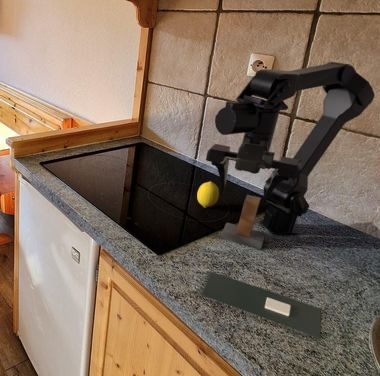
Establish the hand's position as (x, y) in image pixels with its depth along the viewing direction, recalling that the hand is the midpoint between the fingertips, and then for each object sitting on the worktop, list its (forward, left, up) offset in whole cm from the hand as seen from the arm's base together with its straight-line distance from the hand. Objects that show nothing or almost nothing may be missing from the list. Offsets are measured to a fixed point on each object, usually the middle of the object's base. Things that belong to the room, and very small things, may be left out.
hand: (243, 194), depth 95 cm
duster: (-2, +1, -12) cm, 12 cm away
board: (+7, +24, -12) cm, 27 cm away
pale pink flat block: (+5, +26, -11) cm, 28 cm away
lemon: (0, -16, -12) cm, 20 cm away
